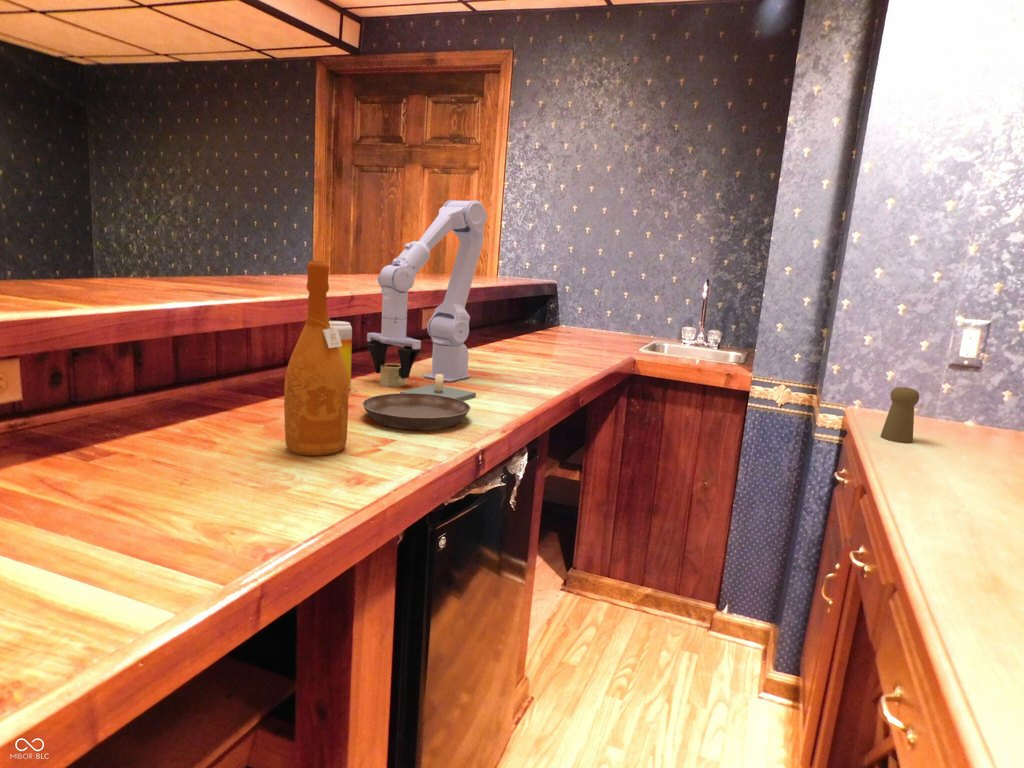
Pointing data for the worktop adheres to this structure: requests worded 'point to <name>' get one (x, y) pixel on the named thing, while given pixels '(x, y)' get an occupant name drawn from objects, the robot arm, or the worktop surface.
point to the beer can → (345, 344)
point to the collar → (391, 375)
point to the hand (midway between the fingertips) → (392, 375)
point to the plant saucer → (416, 410)
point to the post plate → (442, 390)
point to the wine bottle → (316, 378)
